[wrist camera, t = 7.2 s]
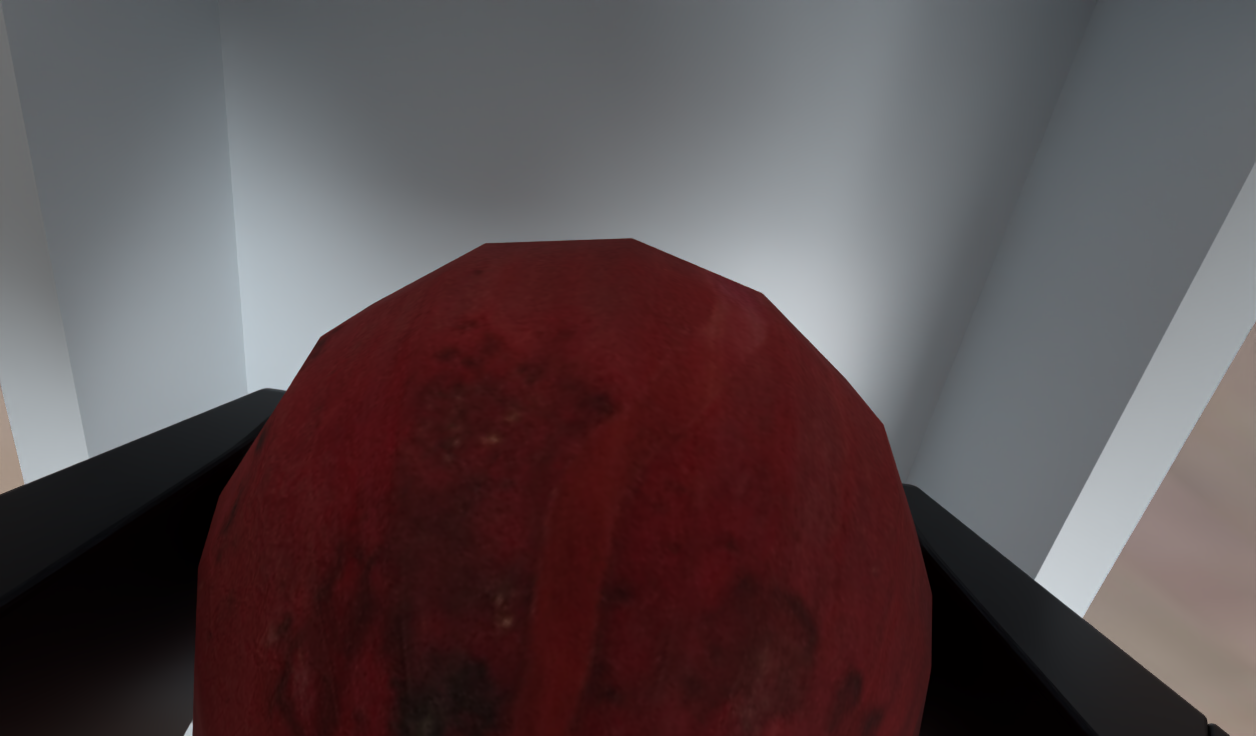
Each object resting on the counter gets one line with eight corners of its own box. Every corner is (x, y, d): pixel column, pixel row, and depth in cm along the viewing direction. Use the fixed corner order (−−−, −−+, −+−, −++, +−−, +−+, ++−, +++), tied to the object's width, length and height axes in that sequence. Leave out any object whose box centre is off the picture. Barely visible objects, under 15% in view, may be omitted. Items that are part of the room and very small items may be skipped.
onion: (320, 163, 9) (-791, 952, 2) (842, 127, 9) (1575, 933, 2) (420, 561, 12) (80, 1480, 5) (822, 547, 12) (1078, 1512, 5)
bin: (1176, -95, 10) (1504, -104, 6) (874, 626, 16) (945, 851, 12) (152, -288, 10) (-199, -433, 6) (231, 537, 16) (87, 746, 12)
